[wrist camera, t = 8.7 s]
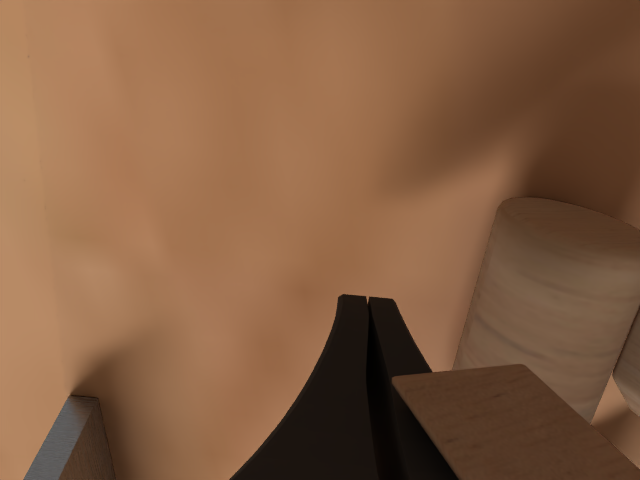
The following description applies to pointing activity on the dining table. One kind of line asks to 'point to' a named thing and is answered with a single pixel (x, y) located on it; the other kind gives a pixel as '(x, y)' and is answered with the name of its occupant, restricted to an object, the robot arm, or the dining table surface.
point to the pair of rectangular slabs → (74, 445)
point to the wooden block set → (539, 349)
